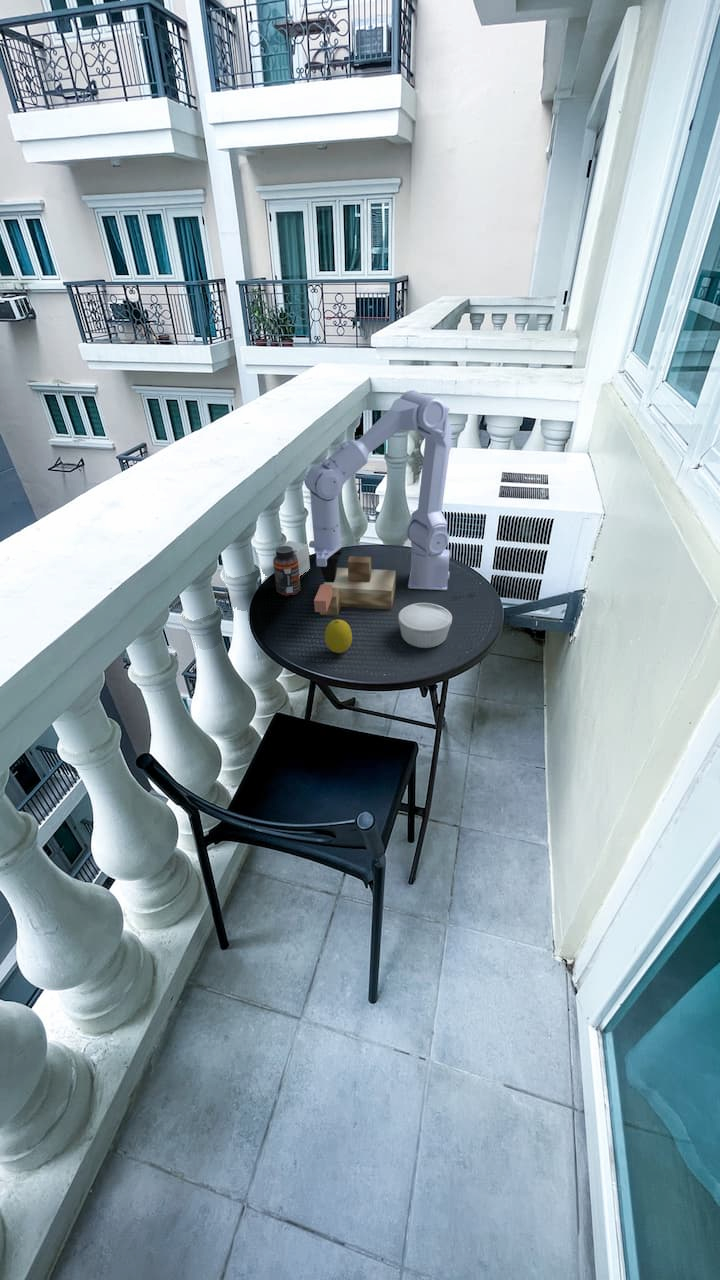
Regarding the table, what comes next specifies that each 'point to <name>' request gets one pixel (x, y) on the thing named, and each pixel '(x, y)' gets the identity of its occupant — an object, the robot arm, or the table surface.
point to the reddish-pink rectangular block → (323, 598)
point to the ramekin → (424, 624)
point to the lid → (363, 578)
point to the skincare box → (300, 555)
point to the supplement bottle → (286, 571)
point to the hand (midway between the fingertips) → (330, 580)
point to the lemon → (338, 636)
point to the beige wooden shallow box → (359, 601)
